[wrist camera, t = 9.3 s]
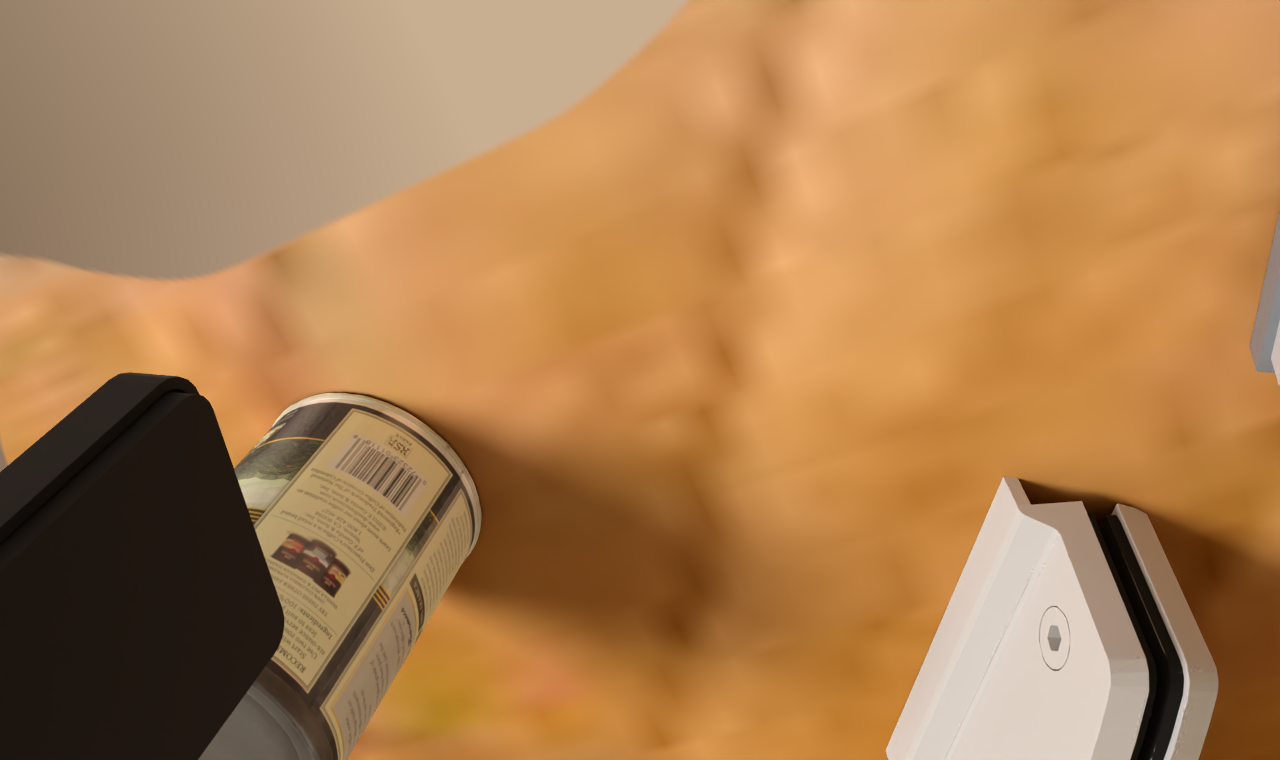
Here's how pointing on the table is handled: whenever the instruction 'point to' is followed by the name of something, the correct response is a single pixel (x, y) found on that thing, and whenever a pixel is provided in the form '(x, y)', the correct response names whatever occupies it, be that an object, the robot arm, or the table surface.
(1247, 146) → the table surface
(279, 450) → the coffee can
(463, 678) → the table surface
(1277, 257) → the gauge board
